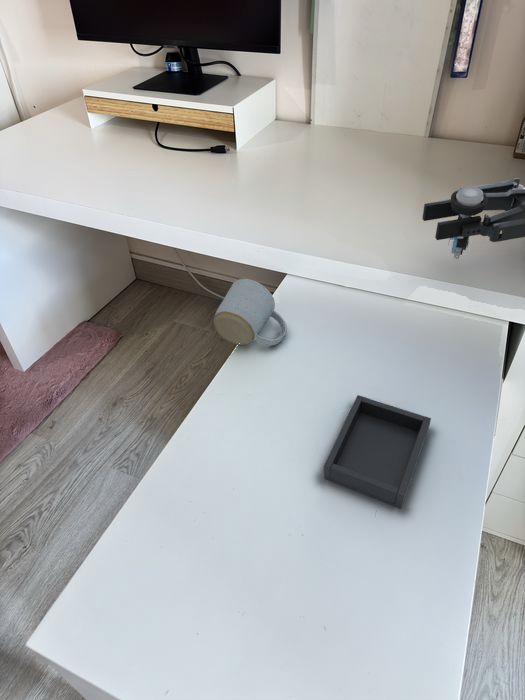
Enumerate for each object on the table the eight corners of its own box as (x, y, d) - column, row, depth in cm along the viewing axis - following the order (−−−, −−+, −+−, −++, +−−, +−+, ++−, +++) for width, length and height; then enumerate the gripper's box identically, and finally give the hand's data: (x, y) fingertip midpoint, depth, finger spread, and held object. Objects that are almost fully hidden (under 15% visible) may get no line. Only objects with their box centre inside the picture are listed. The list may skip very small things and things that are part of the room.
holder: (427, 431, 65) (431, 418, 63) (401, 509, 58) (404, 496, 56) (356, 408, 69) (357, 394, 66) (324, 478, 62) (323, 466, 60)
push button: (472, 263, 80) (488, 209, 73) (438, 258, 82) (449, 205, 74) (475, 238, 84) (490, 184, 77) (442, 234, 86) (453, 181, 78)
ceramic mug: (213, 342, 80) (205, 306, 74) (235, 309, 85) (229, 273, 79) (275, 358, 77) (272, 322, 71) (294, 322, 82) (292, 286, 76)
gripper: (552, 150, 83) (413, 172, 82) (620, 205, 70) (458, 232, 70) (538, 192, 88) (408, 213, 88) (600, 250, 76) (449, 275, 75)
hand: (430, 221), depth 79 cm, fingers closed on push button, 5 cm apart
